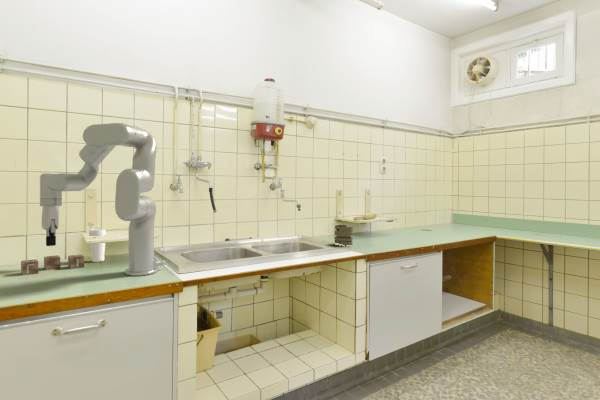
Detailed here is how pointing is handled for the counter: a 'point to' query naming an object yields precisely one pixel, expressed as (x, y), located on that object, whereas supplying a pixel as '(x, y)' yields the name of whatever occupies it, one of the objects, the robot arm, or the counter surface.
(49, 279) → the counter surface
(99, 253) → the white cup
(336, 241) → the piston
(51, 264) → the plain block
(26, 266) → the block seven
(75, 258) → the block one
